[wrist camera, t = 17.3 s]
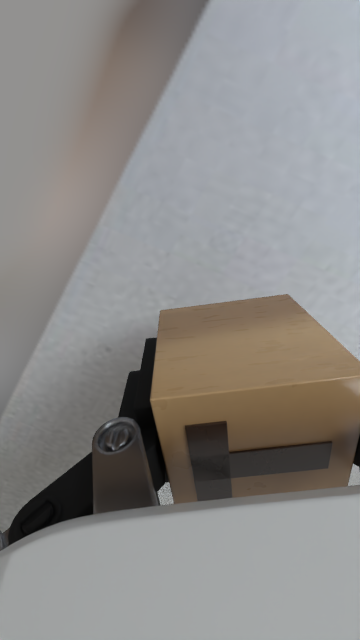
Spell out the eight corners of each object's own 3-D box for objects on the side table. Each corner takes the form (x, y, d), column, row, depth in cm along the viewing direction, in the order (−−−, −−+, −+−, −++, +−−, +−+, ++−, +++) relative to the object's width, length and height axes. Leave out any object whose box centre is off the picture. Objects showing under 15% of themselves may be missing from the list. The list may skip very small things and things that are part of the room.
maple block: (159, 310, 11) (149, 402, 6) (288, 293, 10) (376, 375, 6) (176, 405, 13) (178, 525, 8) (283, 393, 13) (344, 509, 8)
